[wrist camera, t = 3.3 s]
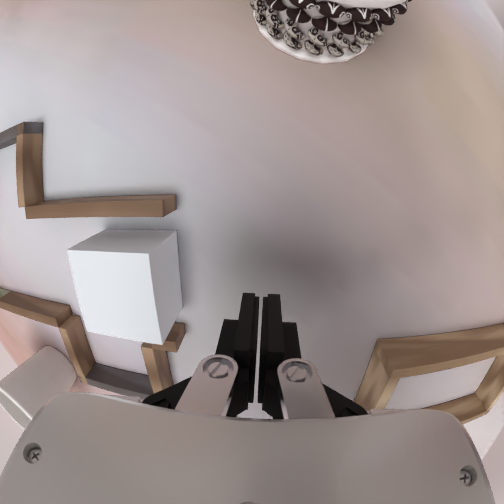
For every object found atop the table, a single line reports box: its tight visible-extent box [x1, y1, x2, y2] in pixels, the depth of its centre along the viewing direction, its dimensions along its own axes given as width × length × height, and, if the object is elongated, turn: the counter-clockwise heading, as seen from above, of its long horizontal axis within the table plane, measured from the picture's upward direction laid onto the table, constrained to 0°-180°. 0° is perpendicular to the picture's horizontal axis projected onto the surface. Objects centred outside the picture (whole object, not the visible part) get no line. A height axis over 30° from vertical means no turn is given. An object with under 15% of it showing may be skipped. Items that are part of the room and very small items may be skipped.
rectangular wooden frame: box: [354, 323, 504, 424], centre depth 20 cm, size 13×22×4 cm, turn 88°
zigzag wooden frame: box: [0, 122, 185, 399], centre depth 18 cm, size 25×27×2 cm
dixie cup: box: [0, 346, 76, 430], centre depth 20 cm, size 8×8×10 cm
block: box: [67, 229, 183, 345], centre depth 17 cm, size 6×6×5 cm
